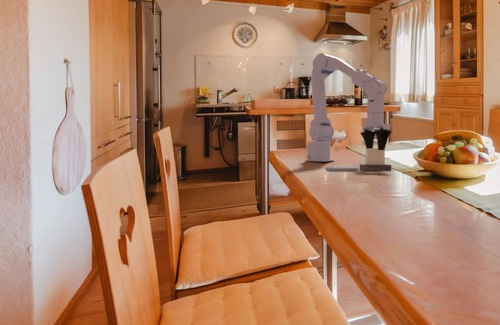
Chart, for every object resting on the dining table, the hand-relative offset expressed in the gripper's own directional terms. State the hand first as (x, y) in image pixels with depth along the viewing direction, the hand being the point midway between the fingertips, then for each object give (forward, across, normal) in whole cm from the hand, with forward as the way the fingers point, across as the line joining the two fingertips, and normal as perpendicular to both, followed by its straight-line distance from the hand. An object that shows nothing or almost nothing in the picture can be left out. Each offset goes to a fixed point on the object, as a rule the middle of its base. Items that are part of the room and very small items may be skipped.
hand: (375, 150), depth 122 cm
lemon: (+8, +7, +16) cm, 19 cm away
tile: (+7, -4, -12) cm, 14 cm away
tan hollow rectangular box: (+7, 0, 0) cm, 7 cm away
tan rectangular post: (+7, 0, 0) cm, 7 cm away
